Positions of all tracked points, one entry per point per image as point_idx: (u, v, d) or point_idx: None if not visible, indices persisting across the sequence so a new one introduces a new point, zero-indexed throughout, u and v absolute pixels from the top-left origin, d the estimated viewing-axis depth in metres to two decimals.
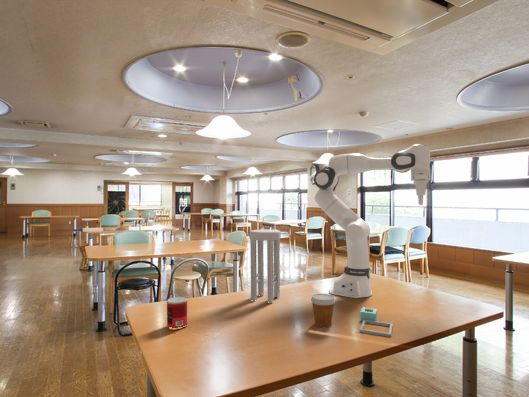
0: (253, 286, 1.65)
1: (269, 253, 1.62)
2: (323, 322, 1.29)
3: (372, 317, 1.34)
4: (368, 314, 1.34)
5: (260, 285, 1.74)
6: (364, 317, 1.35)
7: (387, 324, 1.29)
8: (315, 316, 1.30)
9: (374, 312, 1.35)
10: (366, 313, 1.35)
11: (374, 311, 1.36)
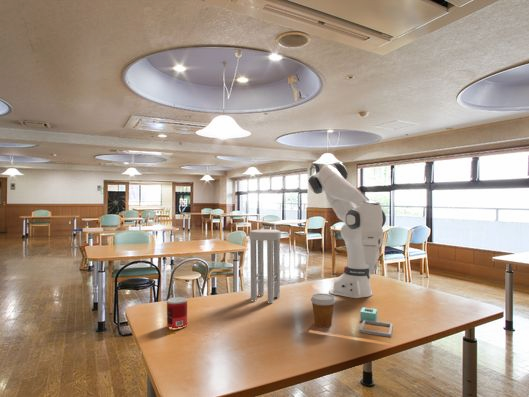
0: (253, 286, 1.65)
1: (269, 253, 1.62)
2: (323, 322, 1.29)
3: (372, 317, 1.34)
4: (368, 314, 1.34)
5: (260, 285, 1.74)
6: (364, 317, 1.35)
7: (387, 324, 1.29)
8: (315, 316, 1.30)
9: (374, 312, 1.35)
10: (366, 313, 1.35)
11: (374, 311, 1.36)
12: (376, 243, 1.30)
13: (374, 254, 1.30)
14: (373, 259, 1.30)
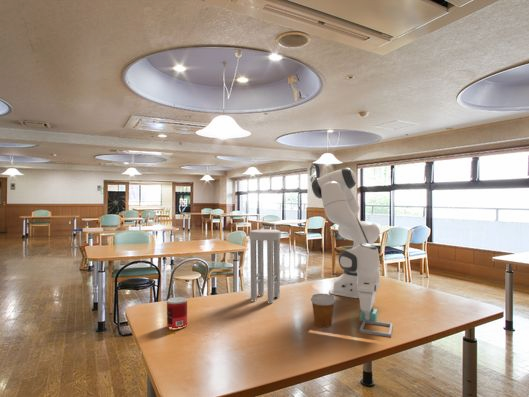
0: (253, 286, 1.65)
1: (269, 253, 1.62)
2: (323, 322, 1.29)
3: (372, 317, 1.34)
4: None
5: (260, 285, 1.74)
6: (364, 317, 1.35)
7: (387, 324, 1.29)
8: (315, 316, 1.30)
9: (374, 312, 1.35)
10: None
11: (374, 311, 1.36)
12: (372, 290, 1.28)
13: (369, 302, 1.28)
14: (368, 307, 1.28)
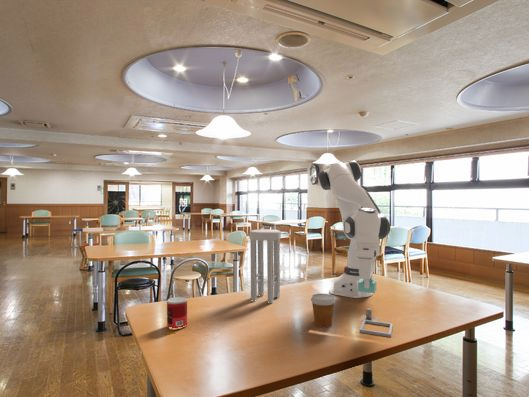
0: (253, 286, 1.65)
1: (269, 253, 1.62)
2: (323, 322, 1.29)
3: (371, 288, 1.25)
4: None
5: (260, 285, 1.74)
6: (362, 288, 1.26)
7: (387, 324, 1.29)
8: (315, 316, 1.30)
9: (373, 282, 1.26)
10: None
11: (373, 282, 1.27)
12: (372, 255, 1.19)
13: (369, 268, 1.18)
14: (368, 273, 1.18)
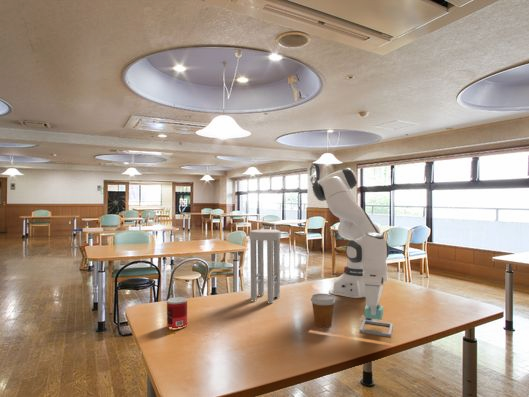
0: (253, 286, 1.65)
1: (269, 253, 1.62)
2: (323, 322, 1.29)
3: (377, 314, 1.23)
4: None
5: (260, 285, 1.74)
6: (369, 314, 1.25)
7: (387, 324, 1.29)
8: (315, 316, 1.30)
9: (380, 309, 1.24)
10: None
11: (380, 308, 1.25)
12: (379, 283, 1.18)
13: (376, 295, 1.17)
14: (375, 301, 1.17)
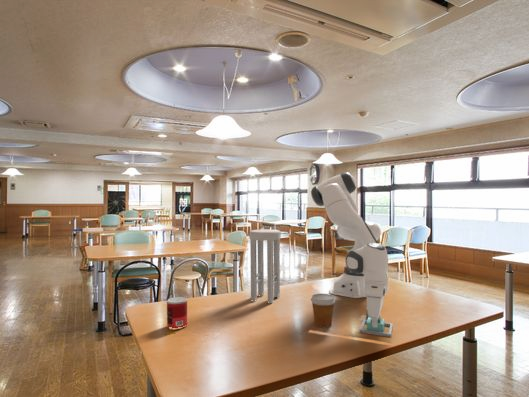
0: (253, 286, 1.65)
1: (269, 253, 1.62)
2: (323, 322, 1.29)
3: (379, 328, 1.23)
4: None
5: (260, 285, 1.74)
6: (371, 328, 1.24)
7: (387, 324, 1.29)
8: (315, 316, 1.30)
9: (381, 323, 1.24)
10: None
11: (381, 322, 1.25)
12: (381, 295, 1.18)
13: (378, 307, 1.17)
14: (377, 313, 1.17)
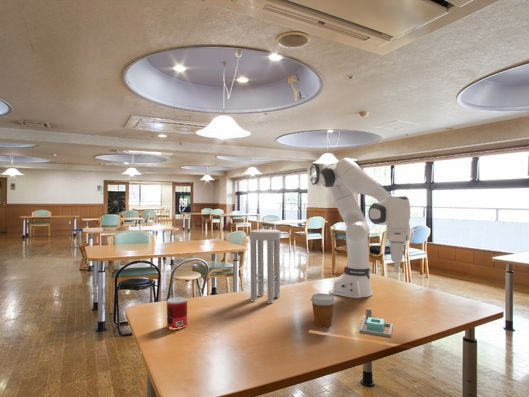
0: (253, 286, 1.65)
1: (269, 253, 1.62)
2: (323, 322, 1.29)
3: (379, 328, 1.23)
4: (375, 325, 1.24)
5: (260, 285, 1.74)
6: (371, 328, 1.24)
7: (387, 324, 1.29)
8: (315, 316, 1.30)
9: (381, 323, 1.24)
10: (373, 324, 1.24)
11: (381, 322, 1.25)
12: (404, 240, 1.24)
13: (401, 251, 1.23)
14: (400, 256, 1.23)
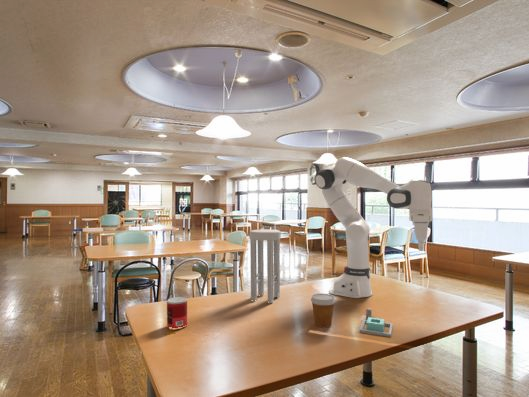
0: (253, 286, 1.65)
1: (269, 253, 1.62)
2: (323, 322, 1.29)
3: (379, 328, 1.23)
4: (375, 325, 1.24)
5: (260, 285, 1.74)
6: (371, 328, 1.24)
7: (387, 324, 1.29)
8: (315, 316, 1.30)
9: (381, 323, 1.24)
10: (373, 324, 1.24)
11: (381, 322, 1.25)
12: (427, 220, 1.33)
13: (425, 230, 1.32)
14: (424, 235, 1.32)
